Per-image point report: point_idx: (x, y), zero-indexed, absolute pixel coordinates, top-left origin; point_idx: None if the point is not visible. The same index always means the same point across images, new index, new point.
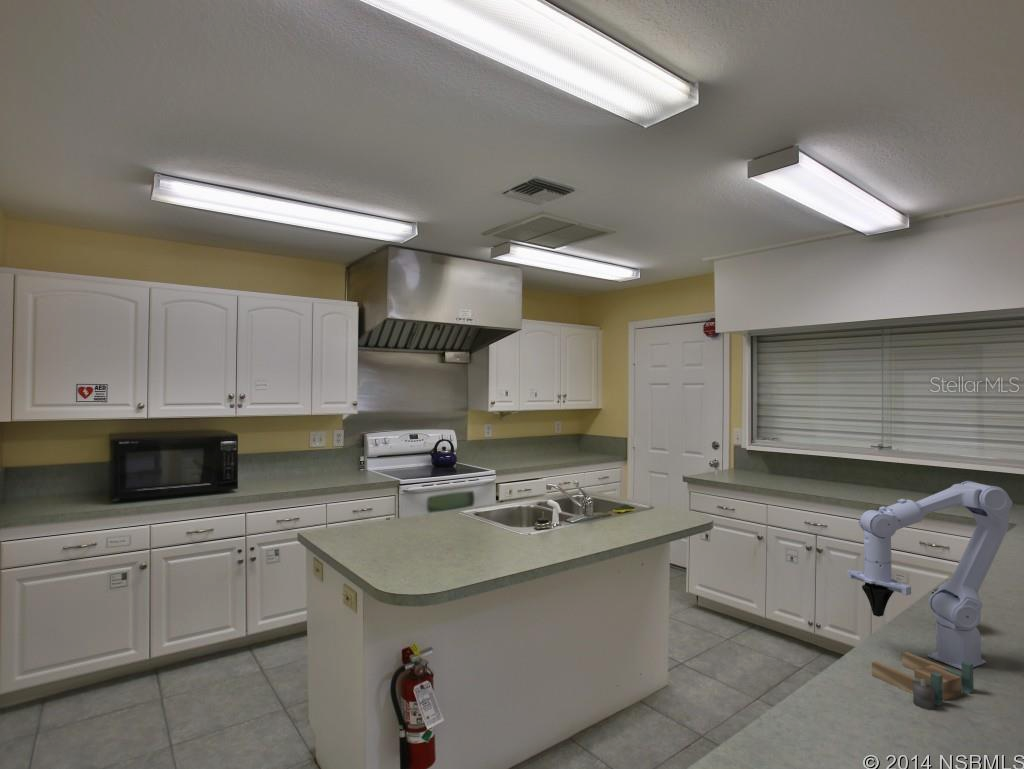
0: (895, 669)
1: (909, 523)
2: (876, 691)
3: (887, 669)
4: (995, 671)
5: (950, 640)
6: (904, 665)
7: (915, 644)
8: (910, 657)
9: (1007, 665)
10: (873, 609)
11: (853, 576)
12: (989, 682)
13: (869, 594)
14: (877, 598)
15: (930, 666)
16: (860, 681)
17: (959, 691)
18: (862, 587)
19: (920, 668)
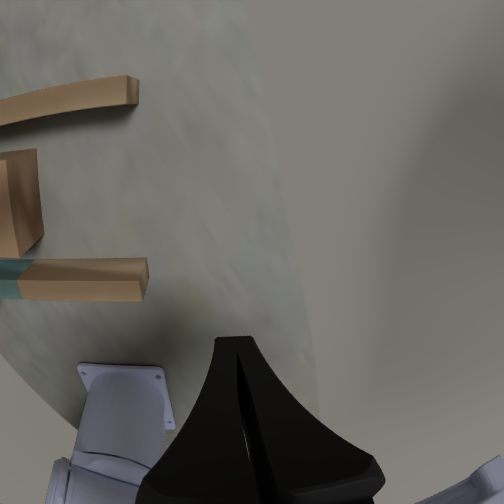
0: (50, 113)
1: None
2: (72, 3)
3: (65, 85)
4: (72, 404)
5: (97, 421)
6: (139, 258)
7: None
8: (110, 277)
9: None
10: (247, 357)
11: (471, 491)
12: (29, 351)
13: (289, 440)
14: (203, 435)
15: (12, 242)
16: (134, 5)
17: None
18: (372, 467)
19: (7, 192)
